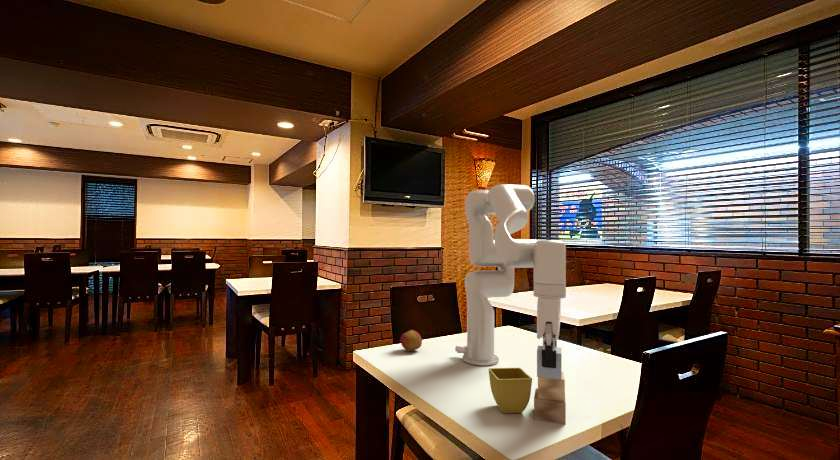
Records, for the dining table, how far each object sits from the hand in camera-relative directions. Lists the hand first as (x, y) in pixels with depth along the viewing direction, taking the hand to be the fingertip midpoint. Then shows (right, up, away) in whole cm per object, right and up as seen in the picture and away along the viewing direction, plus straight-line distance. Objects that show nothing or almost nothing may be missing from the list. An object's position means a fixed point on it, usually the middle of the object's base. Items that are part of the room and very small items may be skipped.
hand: (549, 361), depth 94 cm
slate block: (0, -3, 0) cm, 3 cm away
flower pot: (-9, -13, +3) cm, 16 cm away
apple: (-35, -14, +54) cm, 66 cm away
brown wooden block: (0, -13, 0) cm, 13 cm away
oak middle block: (0, -8, 0) cm, 8 cm away
